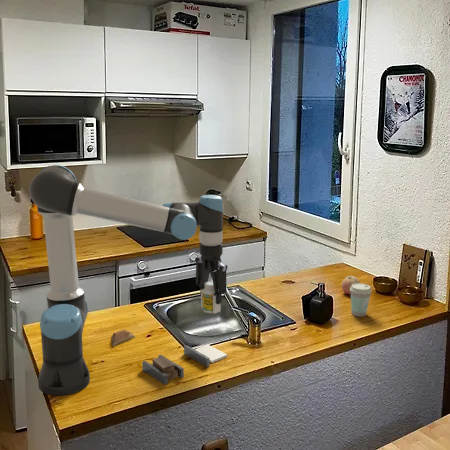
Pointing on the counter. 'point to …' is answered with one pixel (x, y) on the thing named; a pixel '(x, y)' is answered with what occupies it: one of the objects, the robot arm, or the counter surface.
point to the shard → (121, 337)
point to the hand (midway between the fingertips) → (210, 309)
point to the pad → (211, 353)
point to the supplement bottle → (208, 297)
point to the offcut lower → (171, 374)
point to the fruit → (349, 283)
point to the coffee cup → (360, 299)
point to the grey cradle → (175, 365)
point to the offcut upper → (163, 364)
